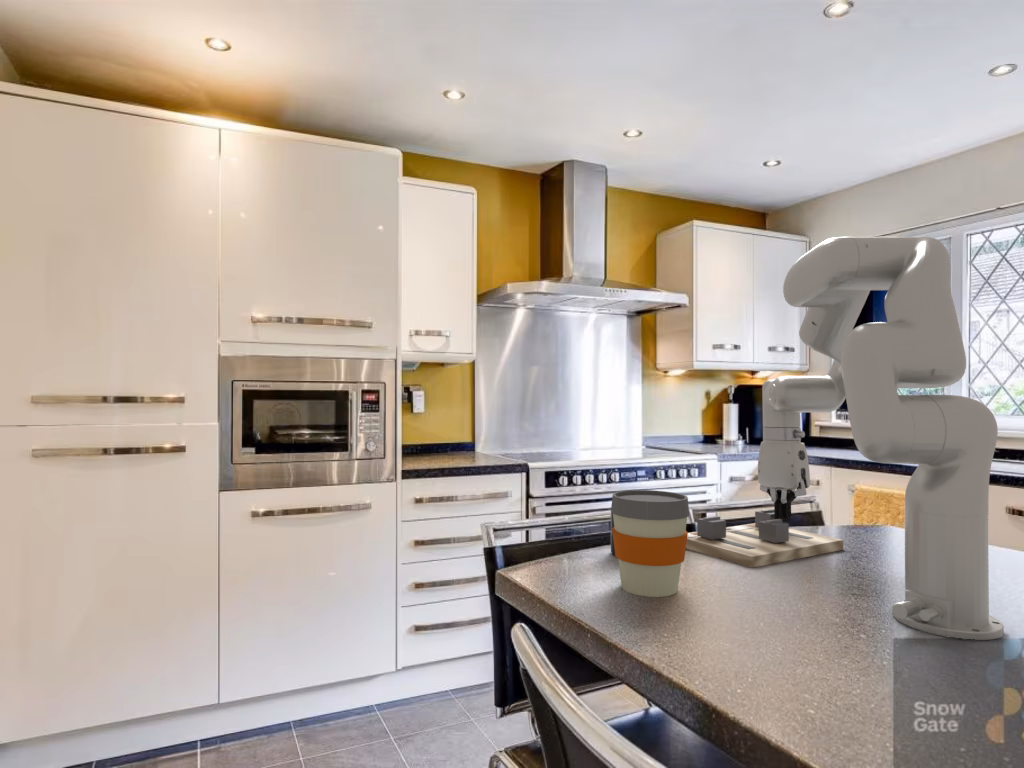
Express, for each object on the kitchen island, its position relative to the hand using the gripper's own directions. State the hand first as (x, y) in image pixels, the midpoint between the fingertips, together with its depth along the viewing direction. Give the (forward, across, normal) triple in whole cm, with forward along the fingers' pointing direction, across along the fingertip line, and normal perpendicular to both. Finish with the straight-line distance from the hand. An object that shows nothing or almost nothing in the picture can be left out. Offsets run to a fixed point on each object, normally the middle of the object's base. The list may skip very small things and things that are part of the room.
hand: (782, 520), depth 134 cm
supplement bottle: (+5, +8, +37) cm, 38 cm away
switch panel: (+5, 0, +9) cm, 10 cm away
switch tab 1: (+2, +4, +18) cm, 18 cm away
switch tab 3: (+3, -4, +9) cm, 10 cm away
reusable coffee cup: (+6, -10, +48) cm, 49 cm away
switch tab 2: (+2, +4, 0) cm, 4 cm away
